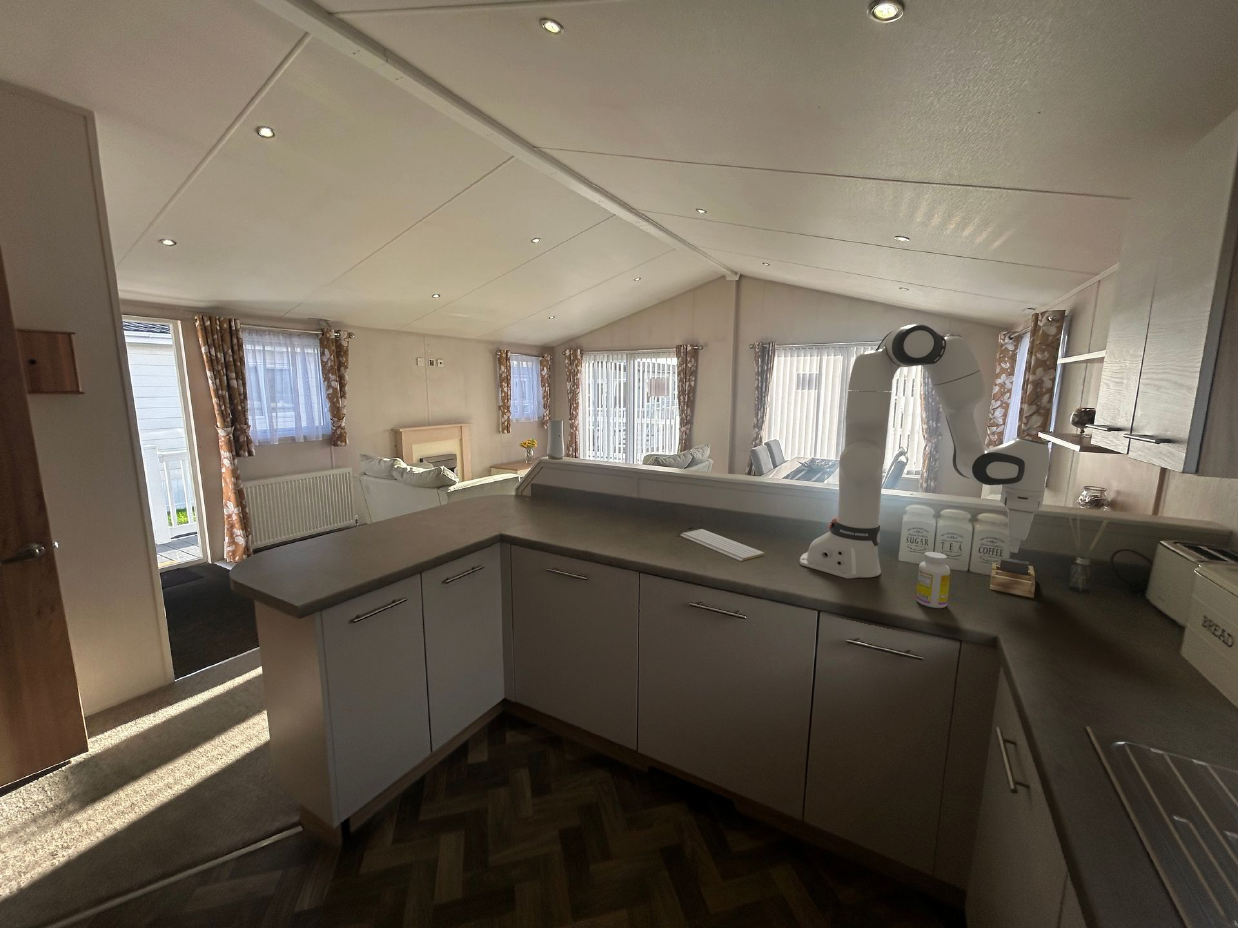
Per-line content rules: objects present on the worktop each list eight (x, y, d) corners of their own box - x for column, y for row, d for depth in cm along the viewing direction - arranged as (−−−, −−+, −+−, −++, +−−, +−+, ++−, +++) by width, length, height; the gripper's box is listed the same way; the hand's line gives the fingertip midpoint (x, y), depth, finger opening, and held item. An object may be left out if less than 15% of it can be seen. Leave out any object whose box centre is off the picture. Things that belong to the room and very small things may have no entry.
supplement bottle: (944, 600, 125) (950, 552, 123) (948, 611, 119) (954, 561, 117) (914, 595, 128) (919, 548, 125) (916, 605, 122) (921, 557, 120)
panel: (998, 578, 136) (1000, 559, 135) (998, 575, 138) (1000, 557, 137) (1026, 583, 132) (1028, 564, 131) (1026, 580, 134) (1028, 561, 133)
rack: (989, 588, 131) (991, 575, 131) (991, 568, 145) (993, 556, 145) (1033, 597, 126) (1035, 584, 125) (1031, 576, 140) (1033, 563, 139)
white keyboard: (737, 563, 152) (764, 556, 158) (737, 555, 152) (764, 548, 158) (676, 537, 178) (701, 532, 185) (676, 530, 178) (701, 525, 184)
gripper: (1006, 489, 141) (999, 535, 144) (1006, 503, 125) (998, 554, 128) (1034, 493, 137) (1026, 539, 140) (1038, 507, 122) (1029, 560, 124)
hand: (1013, 547), depth 134 cm, fingers open, 8 cm apart
